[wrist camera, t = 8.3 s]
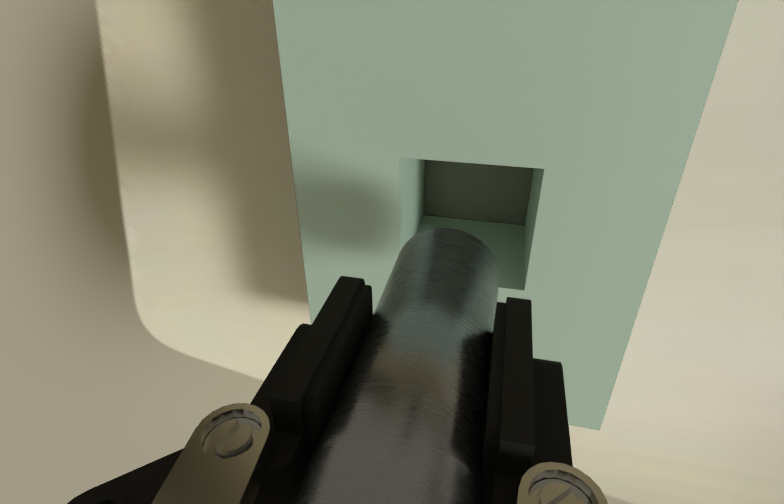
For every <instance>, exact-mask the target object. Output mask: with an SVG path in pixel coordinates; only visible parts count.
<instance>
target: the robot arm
mask: <svg viewBox="0 0 784 504" xmlns="http://www.w3.org/2000/svg"><path fill="white" fill-rule="evenodd" d="M372 316H373V303H372V287H371V285H365V281H364V279H363V278H355V277H347V276H340V278H339V279H338V281H337V282H336V284H335V286H334V288H333V289H332V291H331V293H330V294H329V296H328V298H327V300H326V301H325V303H324V305H323V306H322V308H321V310H320V311H319V313H318V315H317V317H316V318H315V320H314V322H313V323H312V325H309V324H301V325H300V326H299V327H298V328H297V329H296V331H295V333H294V334H293V336H292V337H291V339H290V341H289V342H288V344H287V345H286V347H285V349H284V350H283V352H282V353H281V355H280V357H279V358H278V360H277V362H276V363H275V365H274V366H273V368H272V370H271V371H270V373H269V374H268V376H267V378H266V379H265V381H264V382H263V384H262V386H261V387H260V389H259V390H258V392H257V394H256V395H255V397H254V399H253V400H252V402H251V403H250V404H247V403H239V404H238V403H237V404H231V405H227V406H223V407H221V408H219V409H217V410H215V411H213V412H212V413H210V414H209V415H208V416H206V417H205V418H204V419H203V420H202V421H201V422H200V424H199V425H198V426H197V427H196V429H195V430H194V432H193V434H192V436H191V437H190V439H189V441H188V442H187V444H186V446H185V448H184V449H181V450H179V451H177V452H174V453H172V454H170V455H167V456H165V457H163V458H161V459H158V460H156V461H154V462H151V463H149V464H147V465H145V466H142V467H140V468H138V469H136V470H133V471H131V472H129V473H126V474H124V475H122V476H119V477H117V478H115V479H113V480H111V481H108V482H106V483H104V484H101V485H99V486H97V487H94V488H92V489H90V490H88V491H86V492H84V493H82V494H81V495H79V496H77V497H75V498H74V499H72V500H71V501H70V502H69V503H68V504H292V503H293V501H294V498H295V496H296V494H297V491H298V489H299V487H300V484H301V482H302V480H303V477H304V475H305V473H306V470H307V468H308V466H309V463H310V461H311V459H312V456H313V454H314V452H315V449H316V447H317V445H318V442H319V440H320V438H321V435H322V433H323V431H324V428H325V426H326V424H327V421H328V419H329V417H330V414H331V412H332V409H333V407H334V405H335V402H336V400H337V398H338V395H339V393H340V391H341V388H342V386H343V384H344V381H345V379H346V377H347V374H348V372H349V370H350V367H351V365H352V363H353V360H354V358H355V356H356V353H357V351H358V349H359V346H360V344H361V342H362V339H363V337H364V335H365V332H366V330H367V328H368V325H369V323H370V321H371V318H372ZM481 479H482V483H483V503H482V504H608V503H607V500H606V498H605V496H604V494H603V493H602V491H601V489H600V487H599V486H598V485H597V484H596V483H595V482H594V481H593V480H592V479H591V478H590V477H589V476H587V475H586V474H584V473H583V472H582V471H580V470H579V469H577V468H574V467H573V466H572V456H571V446H570V436H569V426H568V416H567V406H566V396H565V386H564V376H563V367H562V364H561V362H556V361H550V360H543V359H536V358H533V341H532V304H531V300H529V299H521V298H513V297H507V299H506V303H503V302H497V304H496V312H495V319H494V327H493V336H492V348H491V361H490V373H489V385H488V397H487V410H486V422H485V434H484V447H483V459H482V471H481Z"/></svg>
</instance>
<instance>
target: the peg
mask: <svg viewBox="0 0 784 504" xmlns="http://www.w3.org/2000/svg"><path fill="white" fill-rule="evenodd" d="M498 287H499V268H498V264H497V261H496V259H495V257H494V255H493V253H492V252H491V251H490V249H489V248H488V247H487V246H486V245H485V244H484V243H483V242H482V241H481V240H479V239H478V238H476V237H475V236H473V235H471V234H469V233H467V232H464V231H461V230H457V229H452V228H435V229H430V230H426V231H423V232H421V233H419V234H417V235H415V236H414V237H412V238H411V239H410V240H409V241H407V242H406V244H405V245H404V246H403V248H402V249H401V251H400V253H399V255H398V258H397V260H396V262H395V265H394V267H393V269H392V272H391V274H390V276H389V279H388V281H387V283H386V286H385V288H384V290H383V293H382V295H381V297H380V300H379V302H378V304H377V307H376V309H375V311H374V314H373V316H372V318H371V321H370V323H369V325H368V328H367V330H366V332H365V335H364V337H363V339H362V342H361V344H360V346H359V349H358V351H357V353H356V356H355V358H354V360H353V363H352V365H351V367H350V370H349V372H348V374H347V377H346V379H345V381H344V384H343V386H342V388H341V391H340V393H339V395H338V398H337V400H336V402H335V405H334V407H333V409H332V412H331V414H330V417H329V419H328V421H327V424H326V426H325V428H324V431H323V433H322V435H321V438H320V440H319V442H318V445H317V447H316V449H315V452H314V454H313V456H312V459H311V461H310V463H309V466H308V468H307V470H306V473H305V475H304V477H303V480H302V482H301V484H300V487H299V489H298V491H297V494H296V496H295V498H294V501H293V503H292V504H482V503H483V483H482V479H481V471H482V459H483V447H484V434H485V422H486V410H487V397H488V385H489V373H490V361H491V348H492V336H493V327H494V319H495V312H496V304H497V300H498Z"/></svg>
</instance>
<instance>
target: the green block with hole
mask: <svg viewBox="0 0 784 504" xmlns="http://www.w3.org/2000/svg"><path fill="white" fill-rule="evenodd" d="M738 1H739V0H273V8H274V17H275V25H276V33H277V42H278V50H279V59H280V67H281V75H282V84H283V92H284V101H285V109H286V117H287V126H288V134H289V143H290V151H291V159H292V168H293V176H294V185H295V193H296V201H297V210H298V218H299V227H300V235H301V243H302V252H303V260H304V268H305V277H306V285H307V294H308V302H309V310H310V319H311V325H312V323H313V322H314V320H315V318H316V317H317V315H318V313H319V311H320V310H321V308H322V306H323V305H324V303H325V301H326V300H327V298H328V296H329V294H330V293H331V291H332V289H333V288H334V286H335V284H336V282H337V281H338V279H339V278H340V276H347V277H355V278H363V279H364V281H365V285H371V287H372V303H373V314H374V311H375V309H376V307H377V304H378V302H379V300H380V297H381V295H382V293H383V290H384V288H385V286H386V283H387V281H388V279H389V276H390V274H391V272H392V269H393V267H394V265H395V262H396V260H397V258H398V255H399V253H400V251H401V249H402V248H403V246H404V245H405V244H406V242H407V241H409V240H410V239H411V238H412V237H414V236H415V235H417V234H419V233H421V232H423V231H426V230H430V229H435V228H452V229H457V230H461V231H464V232H467V233H469V234H471V235H473V236H475V237H476V238H478V239H479V240H481V241H482V242H483V243H484V244H485V245H486V246H487V247H488V248H489V249H490V251H491V252H492V253H493V255H494V257H495V259H496V261H497V264H498V268H499V287H498V300H497V302H503V303H506V299H507V297H513V298H521V299H529V300H531V304H532V341H533V358H536V359H543V360H550V361H556V362H561V364H562V367H563V376H564V386H565V396H566V406H567V416H568V425H573V426H578V427H584V428H589V429H595V430H600V427H601V424H602V421H603V418H604V415H605V412H606V409H607V406H608V403H609V400H610V397H611V393H612V390H613V387H614V384H615V381H616V378H617V375H618V372H619V369H620V366H621V362H622V359H623V356H624V353H625V350H626V347H627V344H628V341H629V338H630V335H631V332H632V328H633V325H634V322H635V319H636V316H637V313H638V310H639V307H640V304H641V301H642V298H643V294H644V291H645V288H646V285H647V282H648V279H649V276H650V273H651V270H652V267H653V263H654V260H655V257H656V254H657V251H658V248H659V245H660V242H661V239H662V236H663V233H664V229H665V226H666V223H667V220H668V217H669V214H670V211H671V208H672V205H673V202H674V199H675V195H676V192H677V189H678V186H679V183H680V180H681V177H682V174H683V171H684V168H685V164H686V161H687V158H688V155H689V152H690V149H691V146H692V143H693V140H694V137H695V134H696V130H697V127H698V124H699V121H700V118H701V115H702V112H703V109H704V106H705V103H706V100H707V96H708V93H709V90H710V87H711V84H712V81H713V78H714V75H715V72H716V69H717V65H718V62H719V59H720V56H721V53H722V50H723V47H724V44H725V41H726V38H727V35H728V31H729V28H730V25H731V22H732V19H733V16H734V13H735V10H736V7H737V4H738ZM425 160H437V161H450V162H463V163H476V164H488V165H501V166H514V167H527V168H534V170H533V176H532V183H531V190H530V196H529V203H528V209H527V216H526V222H525V225H516V224H506V223H496V222H486V221H476V220H466V219H456V218H446V217H436V216H427V215H423V209H424V175H425Z"/></svg>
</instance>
